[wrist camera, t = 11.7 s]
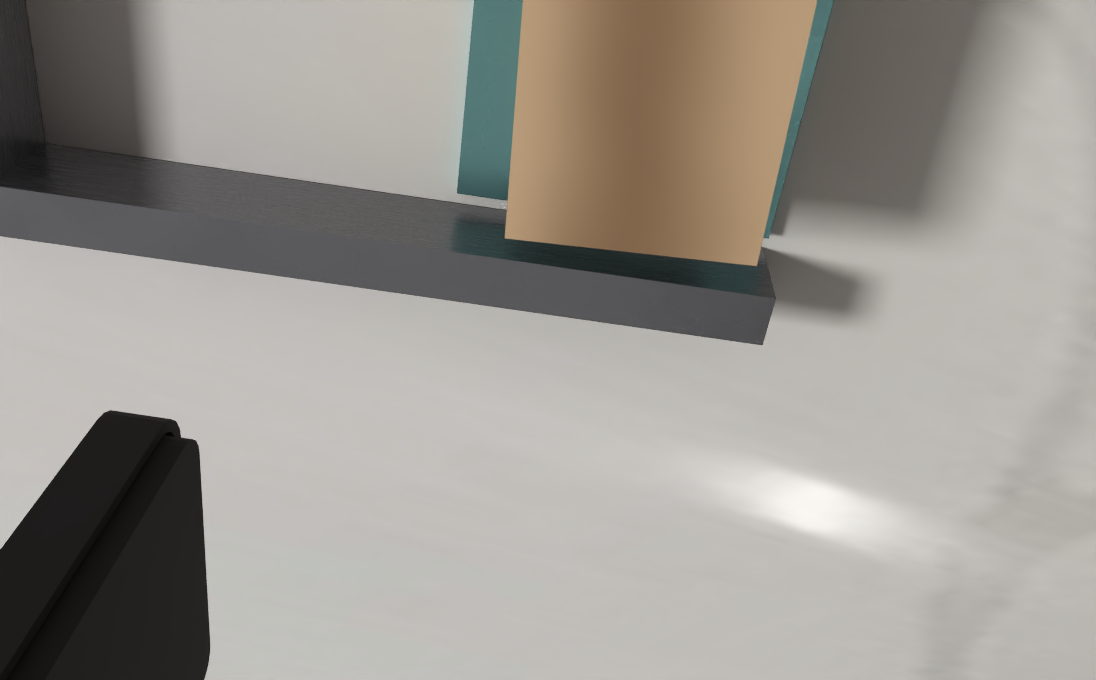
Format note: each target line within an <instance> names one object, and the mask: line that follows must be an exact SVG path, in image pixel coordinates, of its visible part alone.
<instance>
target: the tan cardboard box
mask: <svg viewBox="0 0 1096 680" xmlns="http://www.w3.org/2000/svg"><path fill="white" fill-rule="evenodd" d="M816 4H817V0H523V7H522V20H521V33H520V46H519V59H518V72H517V85H516V98H515V111H514V124H513V137H512V150H511V163H510V176H509V189H508V202H507V215H506V228H505V238H506V239H515V240H524V241H533V242H542V243H551V244H560V245H569V246H578V247H588V248H597V249H606V250H615V251H624V252H633V253H642V254H651V255H660V256H670V257H679V258H688V259H697V260H706V261H715V262H724V263H733V264H742V265H751V266H757V263H758V259H759V254H760V250H761V245H762V241H763V237H764V232H765V228H766V223H767V219H768V215H769V210H770V206H771V202H772V197H773V193H774V188H775V184H776V180H777V175H778V171H779V166H780V162H781V158H782V153H783V149H784V144H785V140H786V136H787V131H788V127H789V123H790V118H791V114H792V109H793V105H794V101H795V96H796V92H797V87H798V83H799V79H800V74H801V70H802V65H803V61H804V57H805V52H806V48H807V44H808V39H809V35H810V30H811V26H812V22H813V17H814V13H815V8H816Z"/></svg>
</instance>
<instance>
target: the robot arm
mask: <svg viewBox="0 0 1096 680" xmlns="http://www.w3.org/2000/svg"><path fill="white" fill-rule="evenodd" d="M209 655H210V634H209V616H208V598H207V580H206V562H205V544H204V526H203V508H202V491H201V473H200V455H199V447H198V444H197V442H196V441H195V440H193V439H187V438H181V435H180V428H179V426H178V424H177V422H176V421H174V420H172V419H165V418H158V417H152V416H145V415H138V414H132V413H125V412H118V411H108V412H105V413H104V414H103V415H102V416H101V417H100V418H99V419H98V420H97V421H96V422H95V424H94V425H93V426H92V428H91V429H90V430H89V432H88V433H87V434H86V436H85V437H84V438H83V440H82V441H81V442H80V444H79V445H78V446H77V448H76V449H75V450H74V452H73V453H72V454H71V456H70V457H69V458H68V460H67V461H66V462H65V464H64V465H63V466H62V468H61V469H60V471H59V472H58V473H57V475H56V476H55V477H54V479H53V480H52V481H51V483H50V484H49V485H48V487H47V488H46V489H45V491H44V492H43V493H42V495H41V496H40V497H39V499H38V500H37V501H36V503H35V504H34V505H33V507H32V508H31V509H30V511H29V512H28V513H27V515H26V516H25V517H24V519H23V520H22V521H21V523H20V524H19V525H18V527H17V528H16V529H15V531H14V532H13V534H12V535H11V536H10V538H9V539H8V540H7V542H6V543H5V544H4V546H3V547H2V548H1V549H0V680H204V678H205V675H206V671H207V667H208V662H209Z"/></svg>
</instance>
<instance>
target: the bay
mask: <svg viewBox="0 0 1096 680" xmlns="http://www.w3.org/2000/svg"><path fill="white" fill-rule="evenodd" d="M833 2H834V0H817V4H816V8H815V13H814V17H813V22H812V26H811V30H810V35H809V39H808V44H807V48H806V52H805V57H804V61H803V65H802V70H801V74H800V79H799V83H798V87H797V92H796V96H795V101H794V105H793V109H792V114H791V118H790V123H789V127H788V131H787V136H786V140H785V144H784V149H783V153H782V158H781V162H780V166H779V171H778V175H777V180H776V184H775V188H774V193H773V197H772V202H771V206H770V210H769V215H768V219H767V223H766V228H765V232H764V237H763V238H768V239H769V235H770V231H771V228H772V224H773V221H774V217H775V213H776V210H777V206H778V202H779V199H780V195H781V191H782V188H783V184H784V181H785V177H786V173H787V170H788V166H789V162H790V159H791V155H792V151H793V148H794V144H795V140H796V137H797V133H798V130H799V126H800V122H801V119H802V115H803V111H804V108H805V104H806V100H807V97H808V93H809V90H810V86H811V82H812V79H813V75H814V71H815V68H816V64H817V60H818V57H819V53H820V49H821V46H822V42H823V39H824V35H825V31H826V28H827V24H828V20H829V17H830V13H831V9H832V6H833ZM522 7H523V0H474V9H473V20H472V31H471V43H470V54H469V65H468V76H467V87H466V99H465V110H464V121H463V132H462V143H461V155H460V166H459V177H458V188H457V193H458V194H465V195H472V196H479V197H486V198H493V199H500V200H507V201H508V189H509V176H510V163H511V150H512V137H513V124H514V111H515V98H516V85H517V72H518V59H519V46H520V33H521V20H522ZM506 215H507V210H500V209H493V208H486V207H479V206H472V205H465V204H458V203H451V202H444V201H438V200H431V199H424V198H417V197H410V196H403V195H396V194H389V193H382V192H375V191H369V190H362V189H355V188H348V187H341V186H334V185H327V184H320V183H313V182H306V181H300V180H293V179H286V178H279V177H272V176H265V175H258V174H251V173H244V172H238V171H231V170H224V169H217V168H210V167H203V166H196V165H189V164H182V163H175V162H169V161H162V160H155V159H148V158H141V157H134V156H127V155H120V154H113V153H106V152H100V151H93V150H86V149H79V148H72V147H65V146H58V145H51V144H45V138H44V131H43V123H42V116H41V109H40V102H39V95H38V88H37V81H36V74H35V67H34V60H33V53H32V46H31V39H30V32H29V25H28V18H27V11H26V4H25V0H0V236H3V237H10V238H17V239H24V240H31V241H38V242H45V243H52V244H59V245H66V246H73V247H80V248H87V249H94V250H101V251H108V252H115V253H122V254H129V255H136V256H143V257H150V258H157V259H164V260H171V261H178V262H185V263H192V264H199V265H206V266H213V267H220V268H227V269H234V270H241V271H248V272H255V273H262V274H269V275H276V276H283V277H290V278H297V279H304V280H311V281H318V282H325V283H332V284H339V285H346V286H353V287H359V288H366V289H373V290H380V291H387V292H394V293H401V294H408V295H415V296H422V297H429V298H436V299H443V300H450V301H457V302H464V303H471V304H478V305H485V306H492V307H499V308H506V309H513V310H520V311H527V312H534V313H541V314H548V315H555V316H562V317H569V318H576V319H583V320H590V321H597V322H604V323H611V324H618V325H625V326H632V327H639V328H646V329H653V330H660V331H667V332H674V333H681V334H688V335H695V336H702V337H709V338H716V339H723V340H729V341H736V342H743V343H750V344H757V345H763V341H764V338H765V335H766V331H767V328H768V324H769V321H770V317H771V314H772V310H773V307H774V303H775V300H776V297H775V293H774V289H773V285H772V281H771V278H770V274H769V270H768V266H767V262H766V258H765V255H764V251H763V248H762V247H761V250H760V254H759V259H758V263H757V266H751V265H742V264H733V263H724V262H715V261H706V260H697V259H688V258H679V257H670V256H660V255H651V254H642V253H633V252H624V251H615V250H606V249H597V248H588V247H578V246H569V245H560V244H551V243H542V242H533V241H524V240H515V239H506V238H505V228H506Z"/></svg>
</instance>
